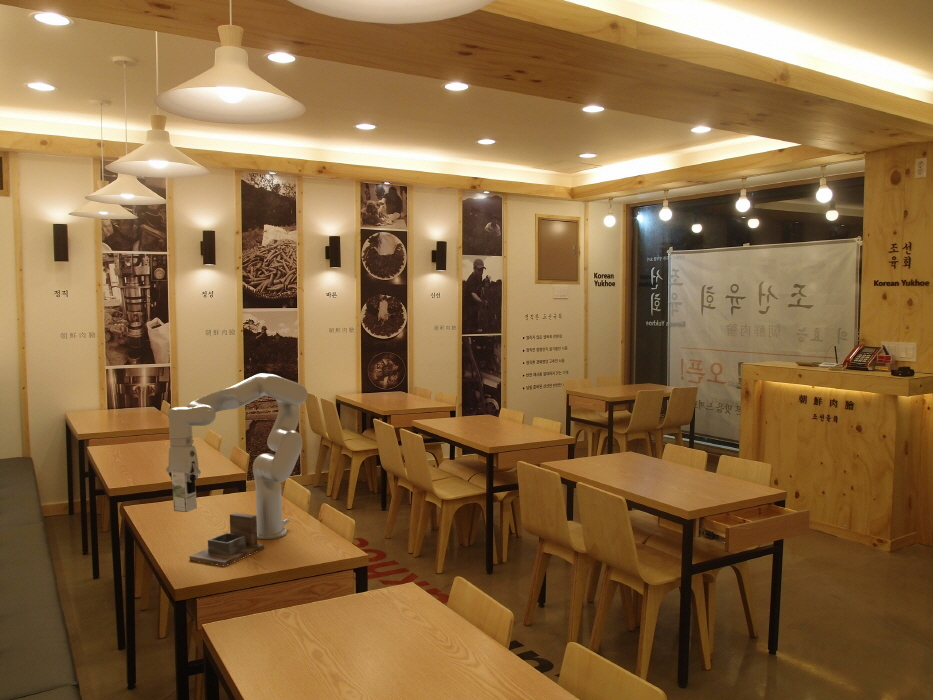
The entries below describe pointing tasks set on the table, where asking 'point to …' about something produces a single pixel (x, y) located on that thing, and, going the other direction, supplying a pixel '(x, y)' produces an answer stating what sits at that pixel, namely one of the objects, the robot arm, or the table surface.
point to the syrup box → (182, 493)
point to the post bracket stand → (232, 542)
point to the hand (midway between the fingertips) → (184, 491)
